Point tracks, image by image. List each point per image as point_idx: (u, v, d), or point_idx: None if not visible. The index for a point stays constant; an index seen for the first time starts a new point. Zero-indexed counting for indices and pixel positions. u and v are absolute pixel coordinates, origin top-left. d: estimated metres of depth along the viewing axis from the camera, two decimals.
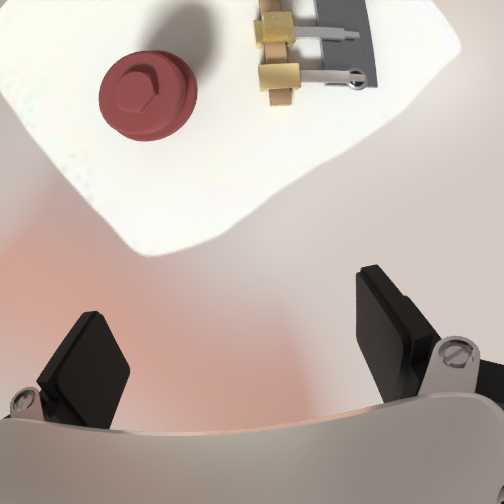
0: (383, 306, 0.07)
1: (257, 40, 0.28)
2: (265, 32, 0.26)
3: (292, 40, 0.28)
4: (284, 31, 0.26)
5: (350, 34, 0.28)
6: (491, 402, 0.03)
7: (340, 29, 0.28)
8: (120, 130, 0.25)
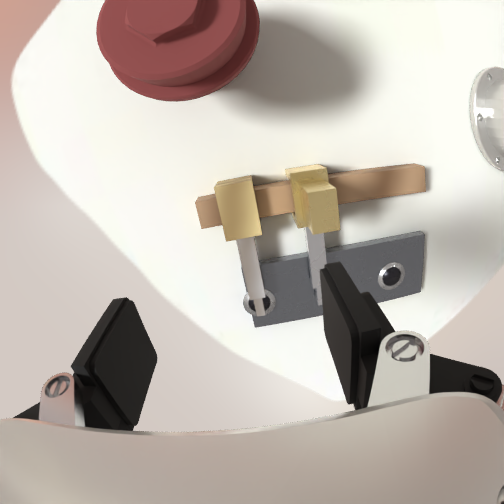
0: (338, 300, 0.08)
1: (292, 175, 0.23)
2: (303, 190, 0.21)
3: (297, 224, 0.25)
4: (307, 217, 0.22)
5: (320, 294, 0.28)
6: (491, 402, 0.03)
7: None
8: (105, 3, 0.11)
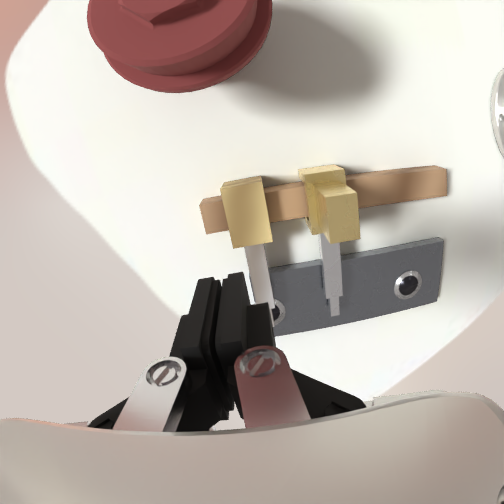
0: (220, 311, 0.09)
1: (307, 176, 0.21)
2: (319, 193, 0.19)
3: (311, 230, 0.22)
4: (323, 224, 0.20)
5: (334, 305, 0.26)
6: (491, 402, 0.03)
7: (340, 292, 0.25)
8: None
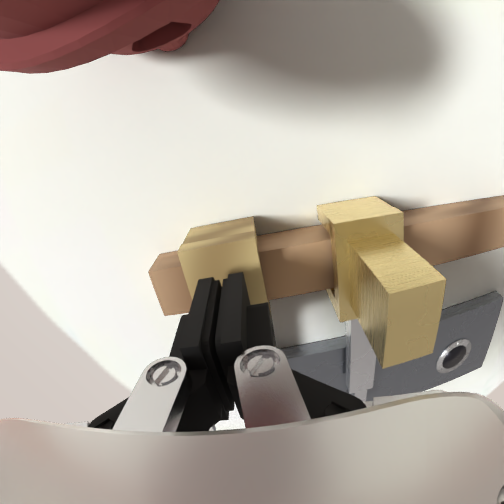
0: (220, 311, 0.09)
1: (339, 227, 0.11)
2: (367, 270, 0.09)
3: (339, 315, 0.13)
4: (368, 322, 0.10)
5: None
6: (491, 402, 0.03)
7: (370, 384, 0.16)
8: None
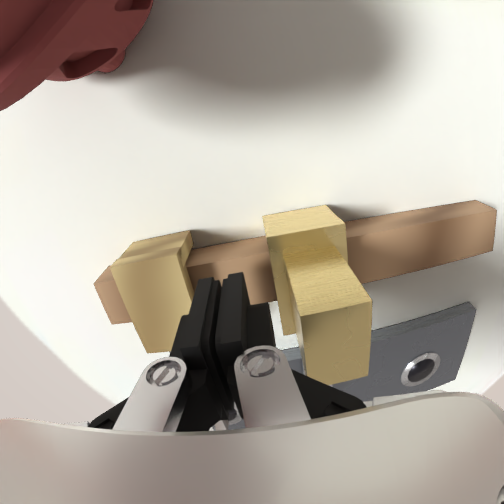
0: (220, 311, 0.09)
1: (272, 241, 0.11)
2: (291, 288, 0.09)
3: (282, 328, 0.13)
4: (299, 340, 0.10)
5: None
6: (491, 402, 0.03)
7: None
8: None
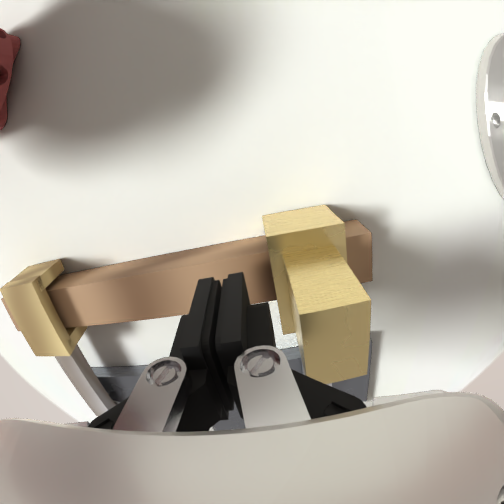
0: (220, 311, 0.09)
1: (272, 240, 0.11)
2: (291, 287, 0.10)
3: (282, 327, 0.13)
4: (298, 339, 0.10)
5: None
6: (491, 402, 0.03)
7: None
8: None
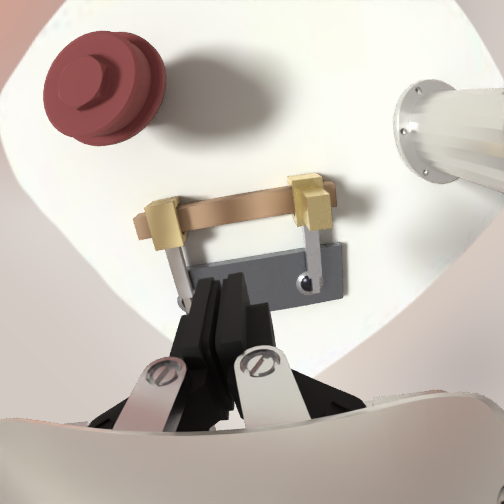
0: (220, 311, 0.09)
1: (293, 182, 0.28)
2: (302, 194, 0.26)
3: (296, 223, 0.30)
4: (305, 217, 0.27)
5: (315, 283, 0.33)
6: (491, 402, 0.03)
7: (320, 273, 0.33)
8: (48, 74, 0.16)
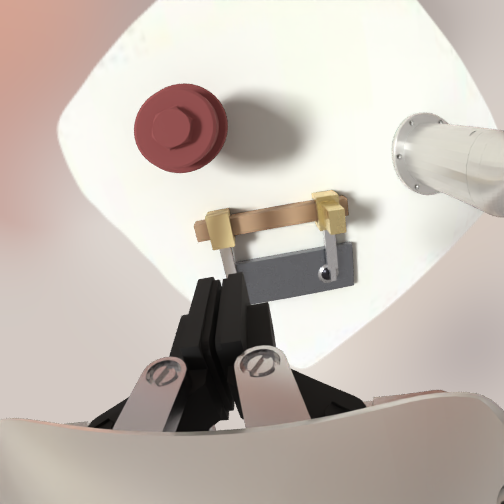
0: (220, 311, 0.09)
1: (317, 198, 0.38)
2: (324, 208, 0.36)
3: (319, 228, 0.40)
4: (326, 224, 0.37)
5: (332, 273, 0.43)
6: (491, 402, 0.03)
7: (336, 265, 0.43)
8: (137, 117, 0.26)
